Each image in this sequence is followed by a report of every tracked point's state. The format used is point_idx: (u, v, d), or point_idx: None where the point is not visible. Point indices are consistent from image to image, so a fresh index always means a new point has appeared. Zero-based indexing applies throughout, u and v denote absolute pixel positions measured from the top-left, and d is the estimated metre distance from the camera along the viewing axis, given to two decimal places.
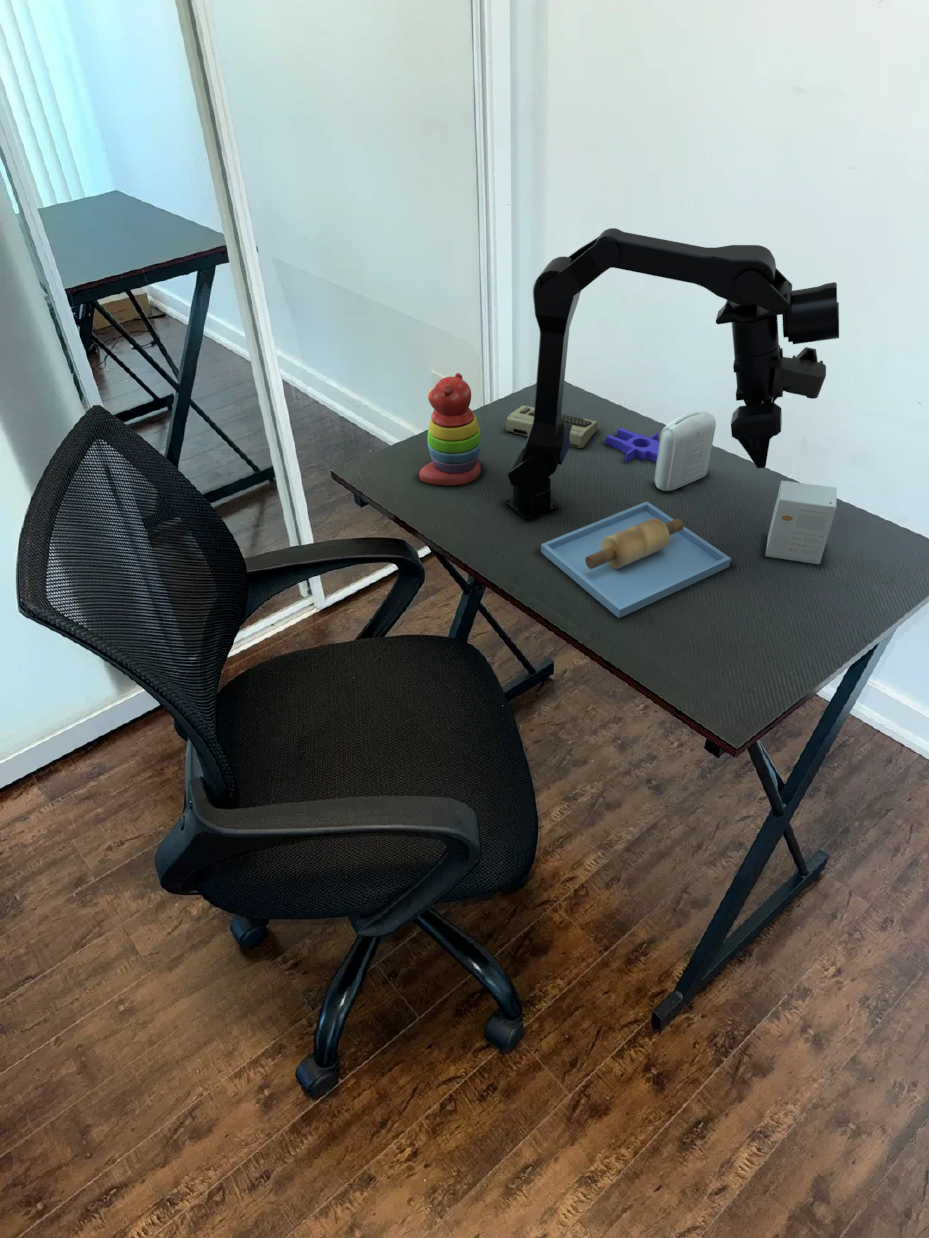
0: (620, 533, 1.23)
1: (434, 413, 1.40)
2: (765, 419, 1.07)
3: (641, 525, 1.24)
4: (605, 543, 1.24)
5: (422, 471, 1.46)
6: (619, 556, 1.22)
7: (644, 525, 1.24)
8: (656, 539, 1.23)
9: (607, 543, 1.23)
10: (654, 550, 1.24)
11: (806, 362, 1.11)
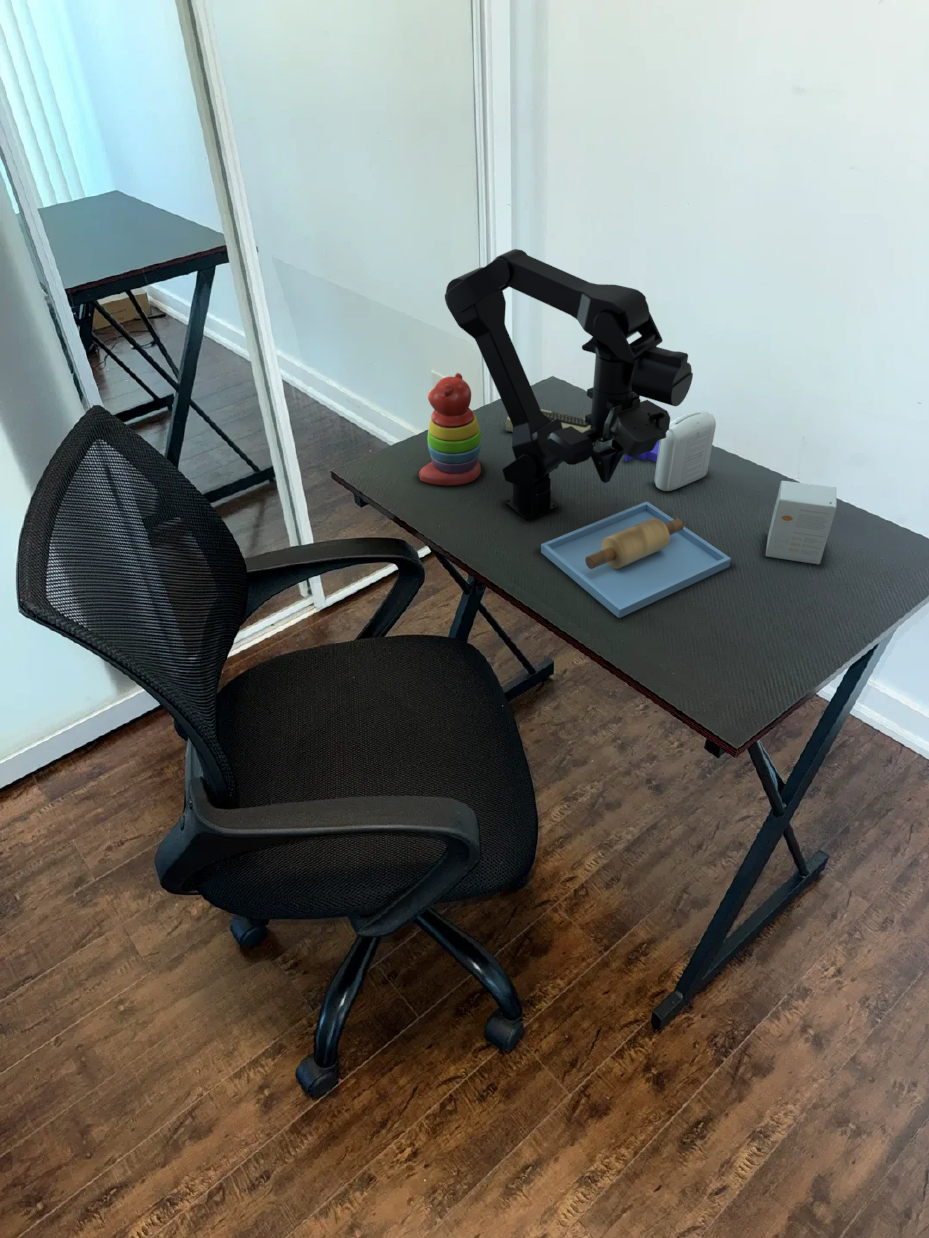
0: (620, 533, 1.23)
1: (434, 413, 1.40)
2: (564, 446, 1.15)
3: (641, 525, 1.24)
4: (605, 543, 1.24)
5: (422, 471, 1.46)
6: (619, 556, 1.22)
7: (644, 525, 1.24)
8: (656, 539, 1.23)
9: (607, 543, 1.23)
10: (654, 550, 1.24)
11: (648, 422, 1.14)
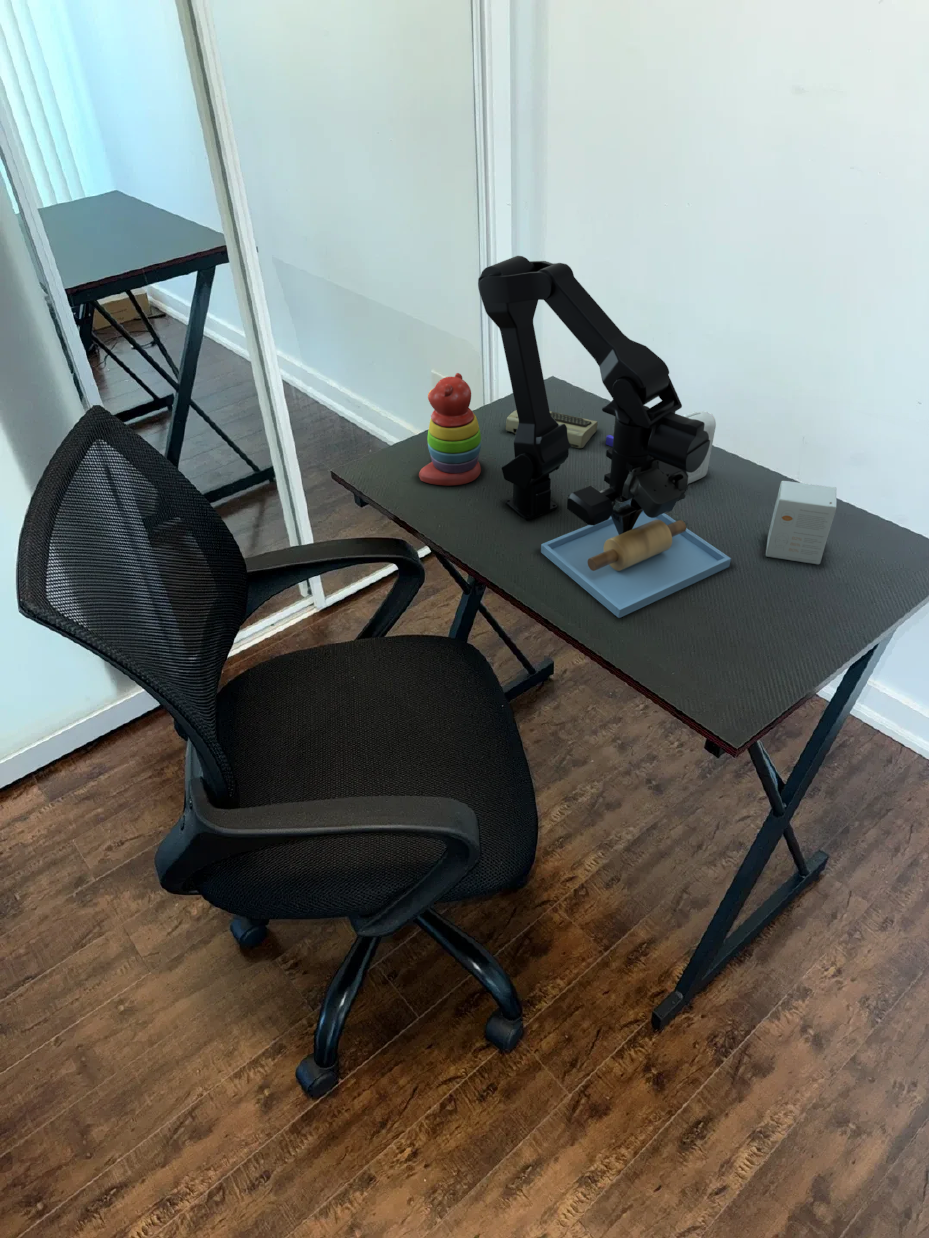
0: (622, 534, 1.23)
1: (434, 413, 1.40)
2: (584, 507, 1.16)
3: (643, 527, 1.24)
4: (607, 545, 1.23)
5: (422, 471, 1.46)
6: (621, 557, 1.21)
7: (646, 527, 1.23)
8: (659, 541, 1.23)
9: (609, 545, 1.23)
10: (656, 552, 1.24)
11: (667, 483, 1.16)
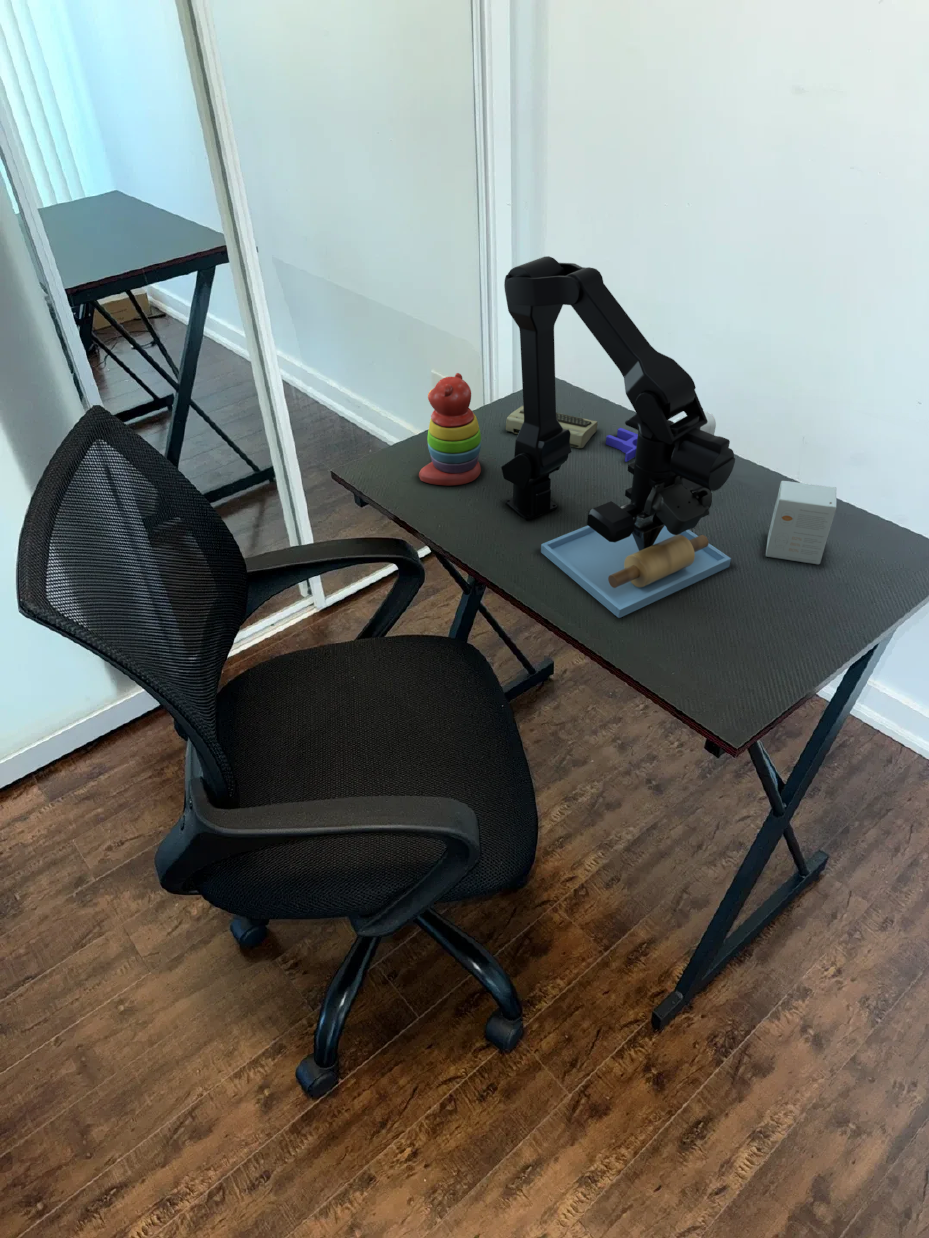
0: (644, 550, 1.19)
1: (434, 413, 1.40)
2: (606, 524, 1.13)
3: (665, 542, 1.20)
4: (628, 561, 1.20)
5: (422, 471, 1.46)
6: (643, 574, 1.18)
7: (668, 543, 1.20)
8: (681, 557, 1.20)
9: (630, 561, 1.20)
10: (679, 568, 1.21)
11: (691, 499, 1.13)
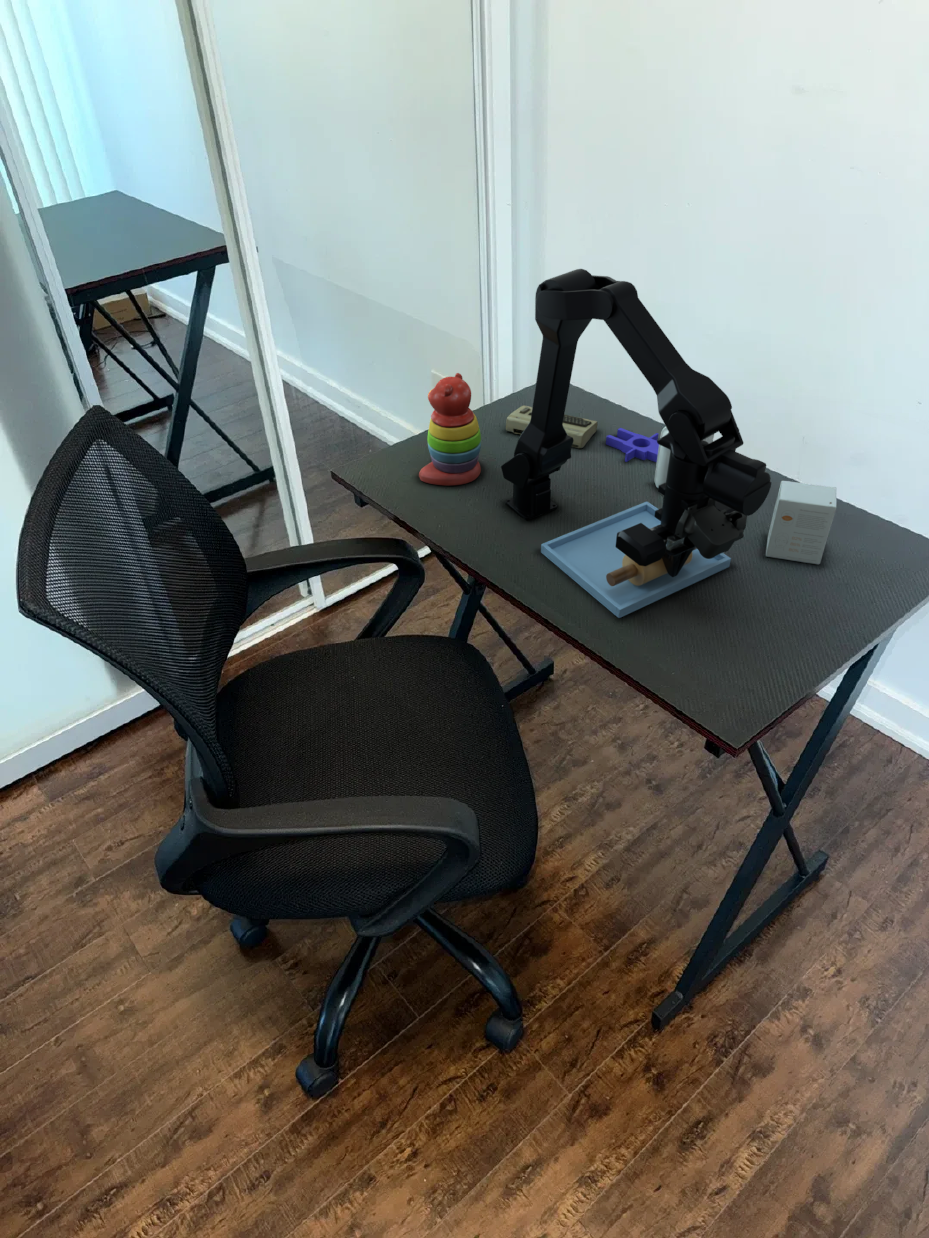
0: None
1: (434, 413, 1.40)
2: (636, 547, 1.09)
3: None
4: (626, 559, 1.20)
5: (422, 471, 1.46)
6: (640, 572, 1.18)
7: None
8: None
9: (628, 559, 1.20)
10: None
11: (724, 522, 1.08)
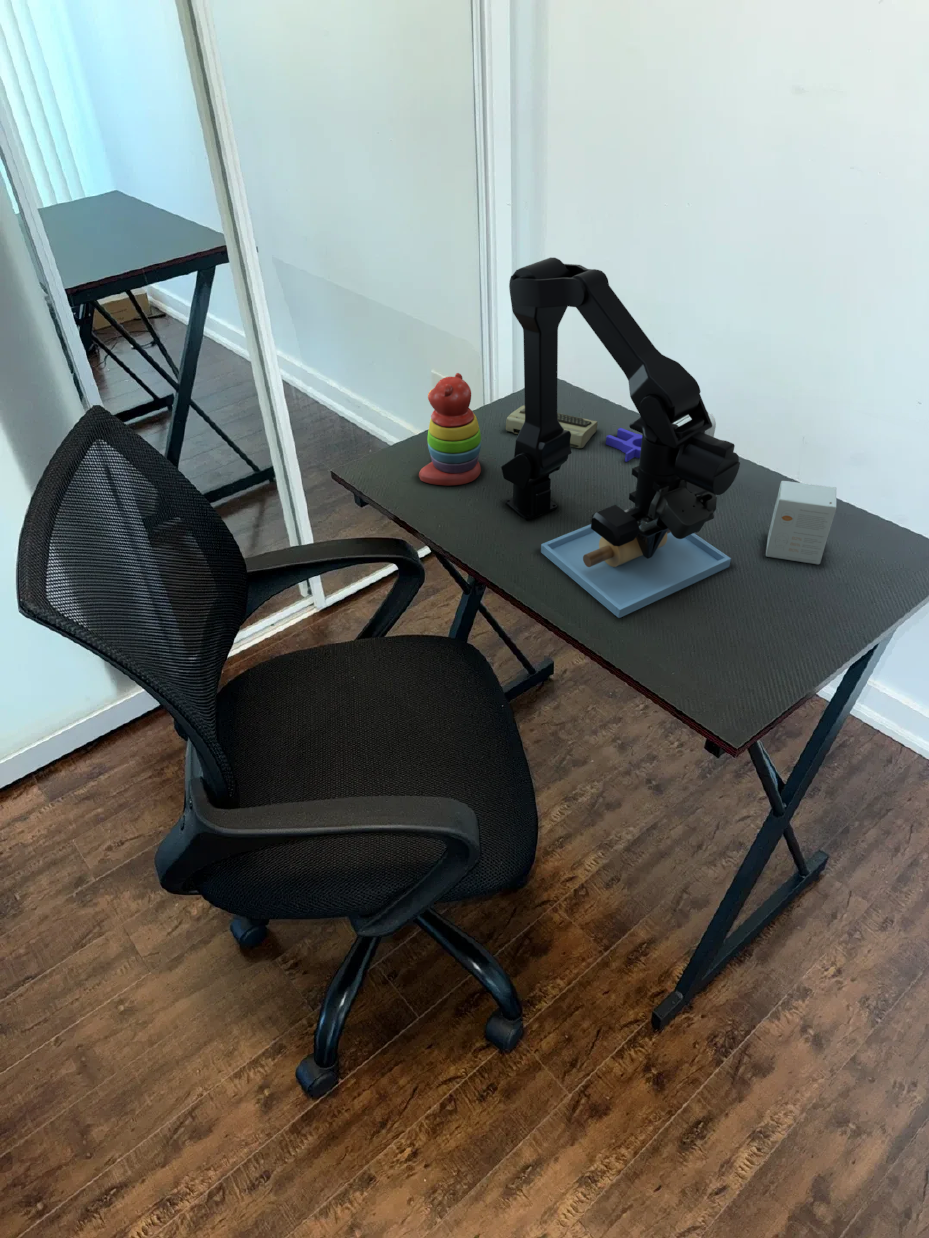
0: None
1: (434, 413, 1.40)
2: (610, 527, 1.13)
3: None
4: (603, 541, 1.24)
5: (422, 471, 1.46)
6: (616, 554, 1.22)
7: None
8: None
9: (605, 541, 1.23)
10: None
11: (695, 503, 1.12)
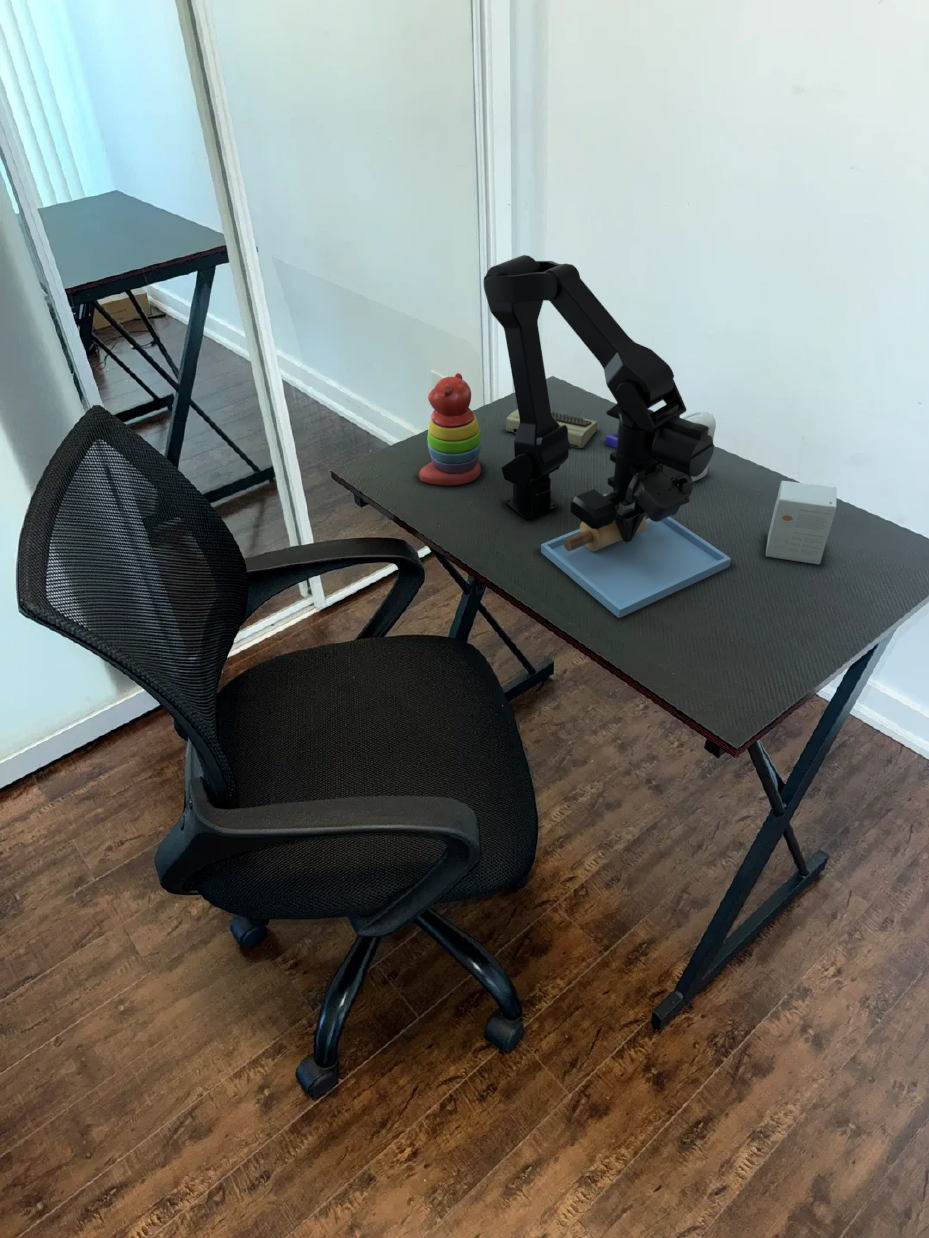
0: None
1: (434, 413, 1.40)
2: (588, 511, 1.16)
3: None
4: (583, 526, 1.27)
5: (422, 471, 1.46)
6: (596, 538, 1.25)
7: None
8: None
9: (585, 526, 1.27)
10: None
11: (671, 487, 1.15)
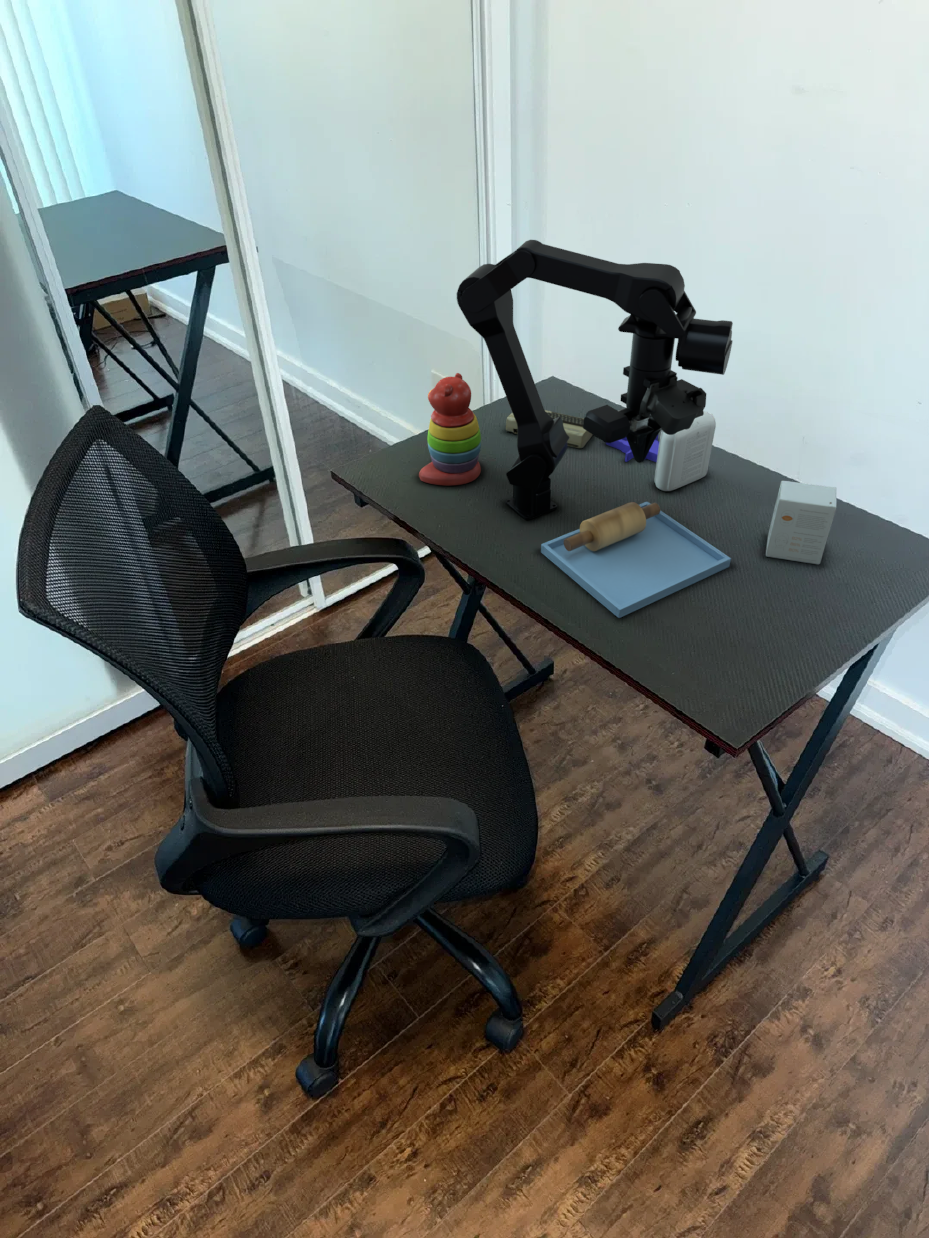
0: (597, 516, 1.26)
1: (434, 413, 1.40)
2: (601, 424, 1.15)
3: (618, 509, 1.28)
4: (583, 526, 1.27)
5: (422, 471, 1.46)
6: (596, 538, 1.25)
7: (621, 509, 1.27)
8: (633, 522, 1.27)
9: (585, 526, 1.27)
10: (631, 533, 1.28)
11: (685, 400, 1.14)
